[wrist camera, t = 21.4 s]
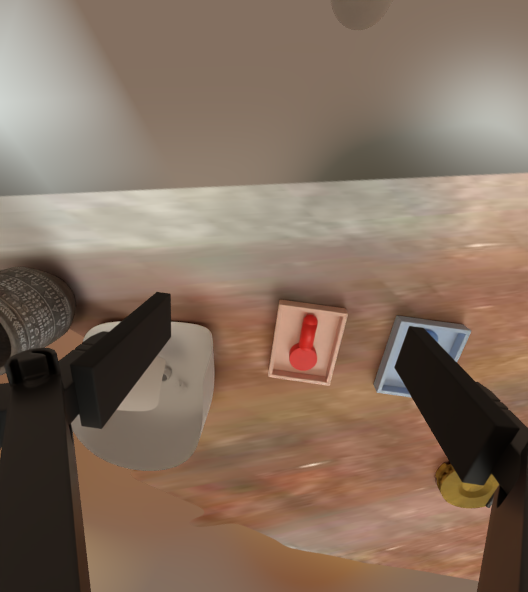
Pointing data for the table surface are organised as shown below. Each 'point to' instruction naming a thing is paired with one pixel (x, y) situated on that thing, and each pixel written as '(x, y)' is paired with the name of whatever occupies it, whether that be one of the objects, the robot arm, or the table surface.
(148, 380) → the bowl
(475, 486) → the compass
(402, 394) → the blue tray
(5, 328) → the planter
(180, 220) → the table surface
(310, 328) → the red spoon
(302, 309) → the rose tray
